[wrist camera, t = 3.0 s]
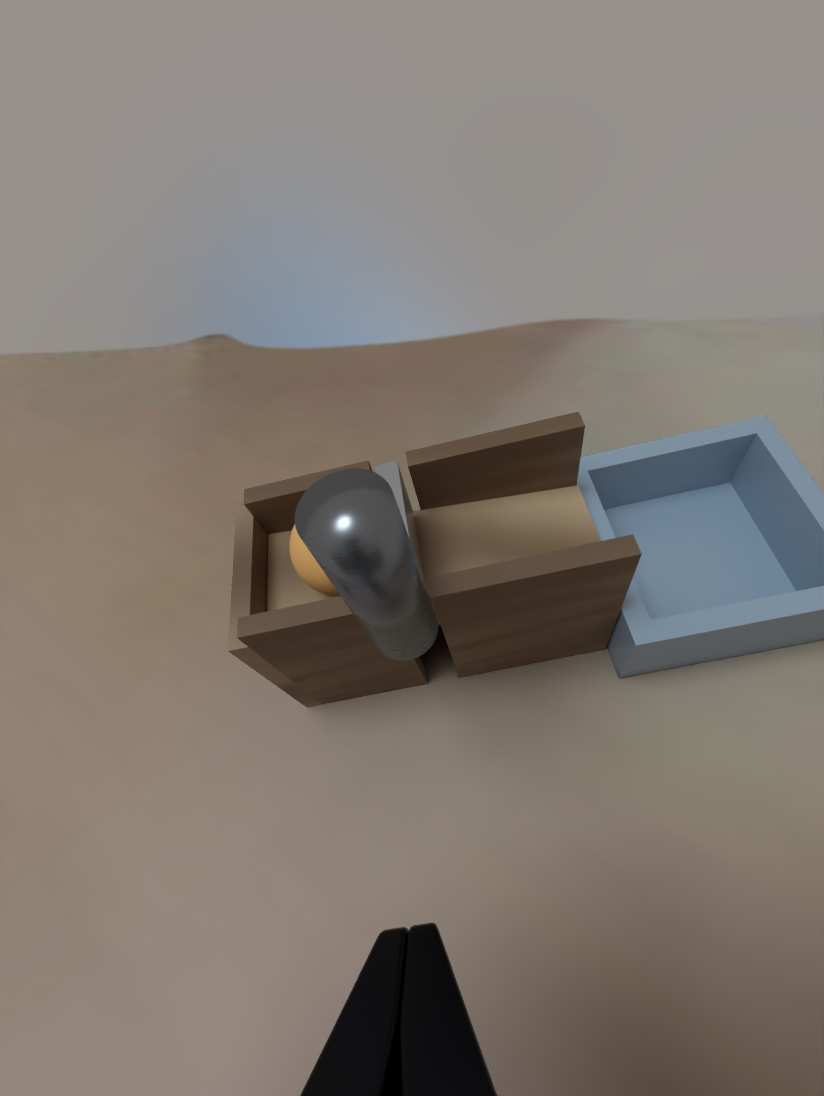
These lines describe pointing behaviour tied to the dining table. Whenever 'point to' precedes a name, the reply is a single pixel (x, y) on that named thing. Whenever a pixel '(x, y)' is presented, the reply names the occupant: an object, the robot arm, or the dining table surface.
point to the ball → (309, 566)
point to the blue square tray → (711, 545)
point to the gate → (371, 555)
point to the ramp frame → (443, 569)
